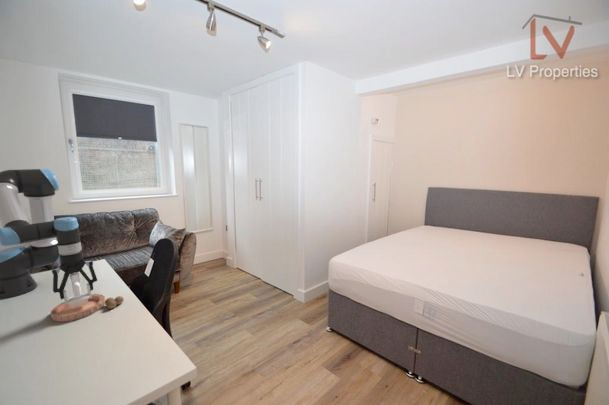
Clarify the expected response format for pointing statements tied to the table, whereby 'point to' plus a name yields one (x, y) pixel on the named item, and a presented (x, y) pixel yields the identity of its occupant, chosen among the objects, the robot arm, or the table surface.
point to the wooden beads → (113, 302)
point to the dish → (78, 309)
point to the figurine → (77, 293)
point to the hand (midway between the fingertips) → (78, 300)
